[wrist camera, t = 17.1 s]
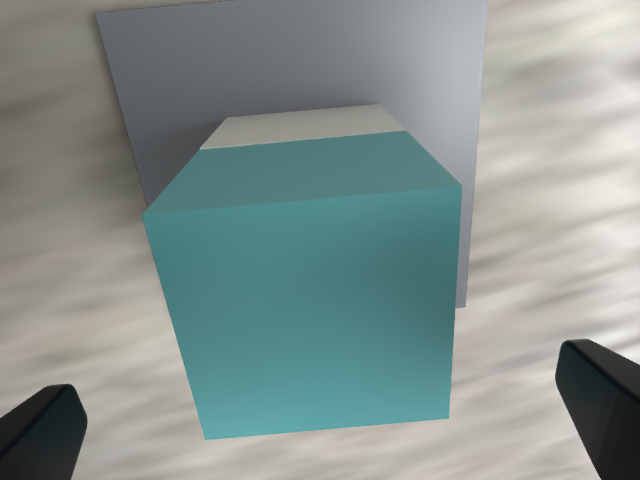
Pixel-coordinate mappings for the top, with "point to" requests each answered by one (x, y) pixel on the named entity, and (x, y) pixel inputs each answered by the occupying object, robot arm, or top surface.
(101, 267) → the top surface
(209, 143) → the cream brick
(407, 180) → the teal brick
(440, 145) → the baseplate
